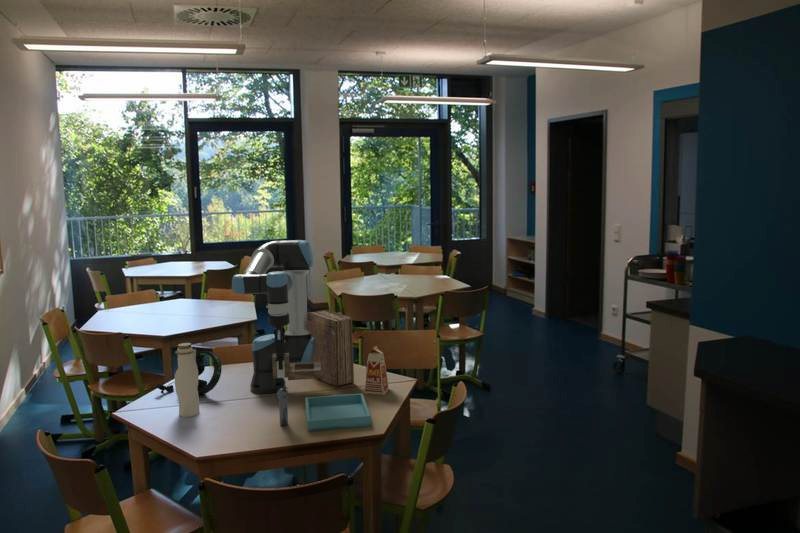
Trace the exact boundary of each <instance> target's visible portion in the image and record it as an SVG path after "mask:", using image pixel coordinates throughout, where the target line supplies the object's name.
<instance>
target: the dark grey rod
mask: <svg viewBox="0 0 800 533" xmlns="http://www.w3.org/2000/svg"><path fill="white" fill-rule="evenodd" d="M276 394H277V397H278V408H279V410H278V412H279V426H280V427H286V426H288V425H289V416H288V415H289V412H288V396H289V392H288V390H287V389H286V387H285V388H281V389H279V390H278V392H276Z"/></svg>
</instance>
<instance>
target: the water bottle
mask: <svg viewBox="0 0 800 533" xmlns="http://www.w3.org/2000/svg"><path fill="white" fill-rule="evenodd" d="M174 353H175V354H176V355H177V369H176V372H175V373H174V388H175V389H174V390H175V394H176V396H177V401H178V415H179V416H180V417H183V418H189V417H190V418H191V417H194V416H197V415H199V414H200V399H199V398H200V396H199V395H198V390H197V388H198V379H199V376H198V368H197V365H196V353H197V349H196V348H195V349H194V348H193V346H192V343H191V342H182V343H179V344H178V345H177V350H176V351H175V352H174Z"/></svg>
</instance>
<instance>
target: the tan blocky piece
mask: <svg viewBox="0 0 800 533" xmlns="http://www.w3.org/2000/svg"><path fill="white" fill-rule="evenodd" d="M276 358H277V357H276V354H273V355H272V365H273V378H278V377H277V361H275V360H276ZM284 365H285V378H287V380H288V381H298V380H300V381H301V380H315V379H317V380H318V378H321V365H320V361H316V362H299V363H290V362H289V353H284ZM285 378H284V379H285Z"/></svg>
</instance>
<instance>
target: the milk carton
mask: <svg viewBox="0 0 800 533" xmlns="http://www.w3.org/2000/svg"><path fill="white" fill-rule="evenodd" d="M372 348H373V349H372V350H371V351H370V352H369V353H368V357H367V362H366V369H365V370H366V372H365V373H366V374H365V375H366V376H365V385H364V389H363V394H368V393H369V394H370V393H371V394H372V395H383V394H385V395H386V393H387V392H388V390H389V379H388V373H387V367H386V366H387V365H386V361H385V357H384V352H382V351H381V350H380V349H378V346H377V345H376V346H373V347H372Z"/></svg>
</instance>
